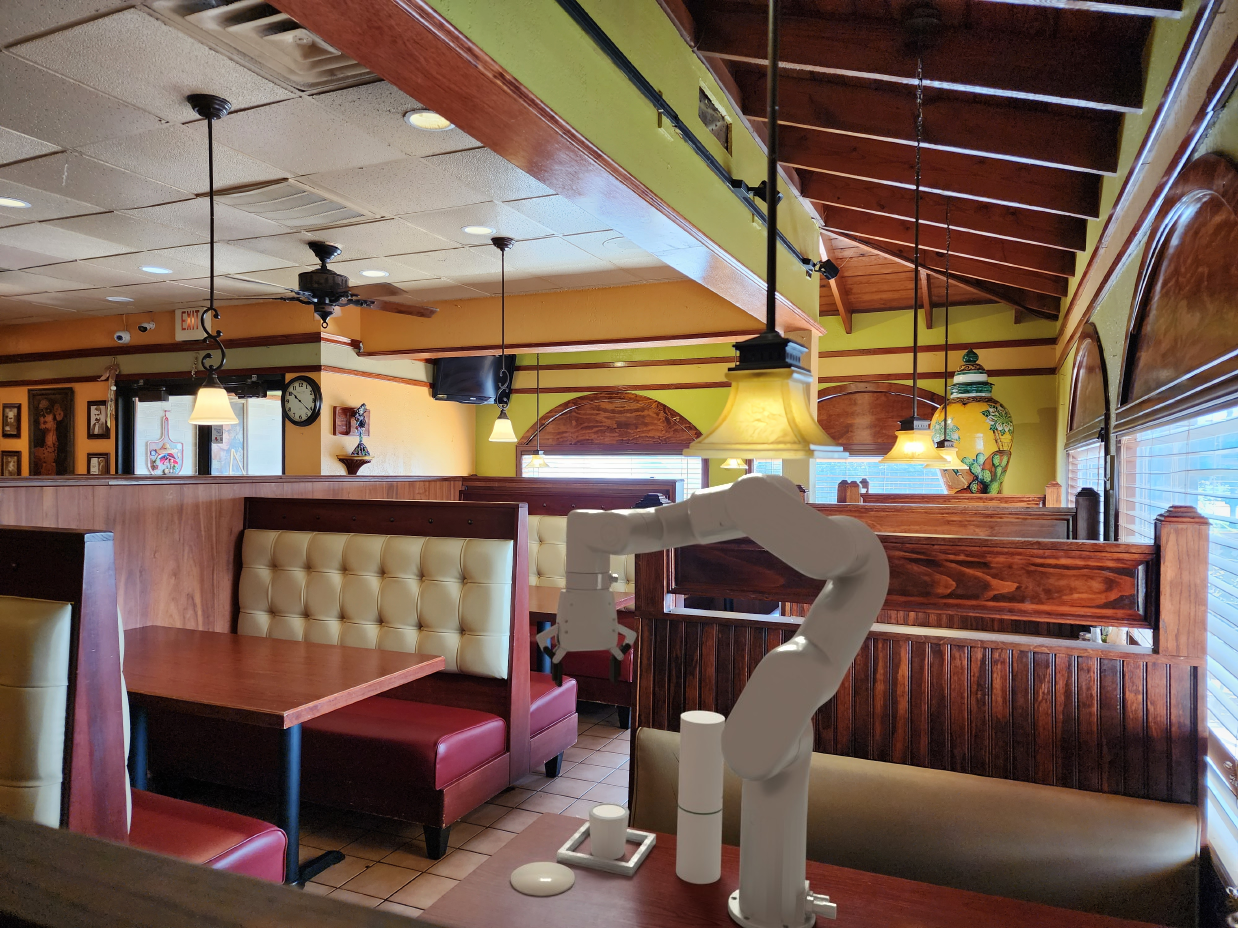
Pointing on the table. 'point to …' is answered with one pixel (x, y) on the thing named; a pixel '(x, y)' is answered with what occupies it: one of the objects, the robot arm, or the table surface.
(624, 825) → the white cup
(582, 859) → the holder collar
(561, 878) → the cream flat disc
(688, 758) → the cylindrical container
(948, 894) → the table surface
